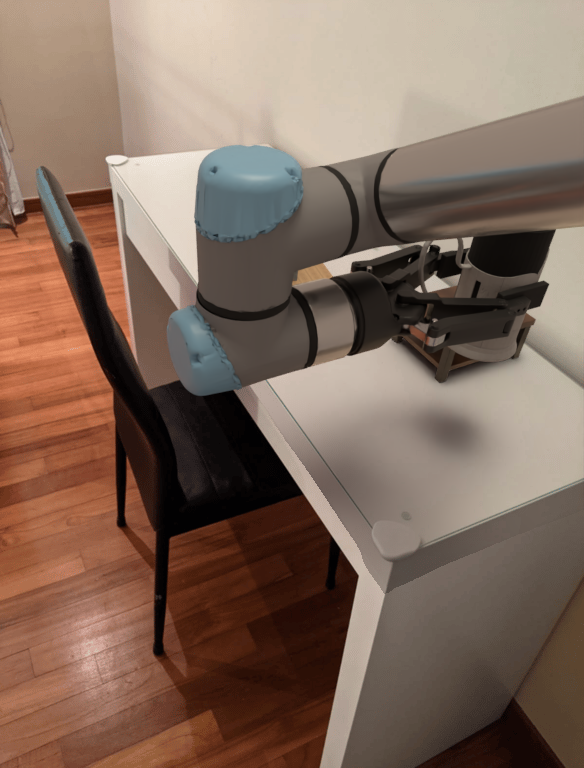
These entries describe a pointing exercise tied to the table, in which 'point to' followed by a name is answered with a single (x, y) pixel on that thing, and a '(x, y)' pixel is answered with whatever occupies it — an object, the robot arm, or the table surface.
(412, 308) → the robot arm
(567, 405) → the table surface
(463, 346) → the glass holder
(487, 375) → the table surface
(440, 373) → the miniature coffee table
